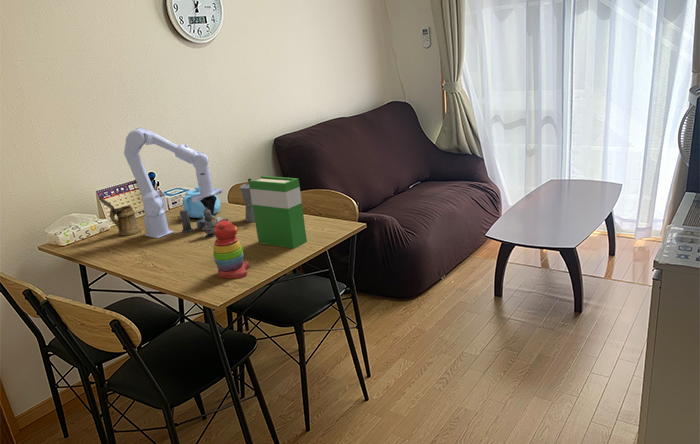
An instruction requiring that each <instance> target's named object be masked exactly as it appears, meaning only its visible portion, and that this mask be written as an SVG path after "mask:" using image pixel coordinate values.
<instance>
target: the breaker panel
mask: <svg viewBox="0 0 700 444" xmlns="http://www.w3.org/2000/svg"><path fill="white" fill-rule="evenodd" d="M203 217H204V216H203ZM212 217H213V223H214V225H216V224H217V223H218V222H220V221H221V220H222V219H223V220H224V221H229V218H227V217H226V218H225V217H222V216H215V215H212ZM203 227H205V220H204V219H199V220H198V221H196V228H197V229H198V230H203Z"/></svg>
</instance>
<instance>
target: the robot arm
mask: <svg viewBox="0 0 700 444" xmlns="http://www.w3.org/2000/svg"><path fill="white" fill-rule="evenodd" d="M144 145H146V146H149V145H156V146H157V147H160V148H163V149H165V150H167V151H170V152H172V153H174V156H175V157H176V158H178V159H179V160H182V161H184V162H186V163H188V164H191V165H193V167H194V168H195V175H196V176H195V177H196V182H197V186H199V192H200V194H198V195H196V196H194V197H192V202H197V201H200V202H201V203H202V204H203V205H204V207H205V208H206V207H207V209H209V210H210V211H211V215H212V214H213V215H215V214H214V206H215V202H216V199H217V198H216V197H215V196H214V195H217V196H218V195H219V194H223V189H222V188H220V187H219V188H215V190H214V189H213V188H214V184H213V181H212V180H213V179H212V174H211V170H210V165H209V156H208V155H207V154H205V153H204V152H200V151H199V150H195V149H193V148H191V147H189V145H188V144H187V143H186V144H183V143H181V144H177V143H174V142H172V141H170V140H168V139H167V138H165V137H163V136H161V135H159V134H157V133H155V132H153V131H151V130H148V129H146V128H145V127H137V128H135V129H133V130H131V131H130V132H128V134H127V136H126V137H125V145H124V151H123V155H124V157H125V159H126V162H127V164H128V166H129V169H130V170H131V173H132V175H133V177H134V179H135V182H136V184H137V186H138V189H139V191H140V194H141V197H142V203H143V211H144V213H145V214H144V215H145V216H143V225H144V228H145V233H146V234H144V236H145V237H150V238H153V239H155V238H156V239H159V238H162V237H165V236H168V235H170V234H172V233H174V230H170V229H169V225H168V220H167V216H166V211H165V210H164V205H165V202H164V199H163V198H162V197H161V196H160V195H159V193H158V192H157V190H155V188H154V186H153V183H152V182H151V179H150V176H149V174H148V171H147V170H146V168H145V165H144V162H143V159H142V158H141V155H140V152H141V151H142V148H143V146H144ZM213 215H212V216H213Z"/></svg>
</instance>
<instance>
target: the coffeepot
mask: <svg viewBox="0 0 700 444" xmlns="http://www.w3.org/2000/svg"><path fill="white" fill-rule="evenodd" d="M250 180H252V178H248V179H247V182H248V183H244V184H242V185H239V189H240V191H241V196H242V198H243V201H244V204H245V221H246V223H255V218H254V212H253V206H252V200H251V194H250V187H249V181H250Z"/></svg>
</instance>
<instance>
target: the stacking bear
mask: <svg viewBox="0 0 700 444" xmlns="http://www.w3.org/2000/svg"><path fill="white" fill-rule="evenodd" d="M238 230H239V228H238V226H236V225H235V224H233V223H232V221H229V220H228V221H224V220H223V219H222V220H221V221H220V222H218V223H217V224H216V225H215V227H214V234H215V236H216V237H215V238H216V240H215V241H214V243H213V261H214V262H215V264H216V267H217V268H218V269H217V276H218V277H220V278H222V279H239V278H243V277H246V276H247V274H248V271H247V269H249V267H250V263H249V262H248V261H244V250H243V247H242V245H241V242H240V240H239V239H238V237H237V236H236V235H237V234H238Z"/></svg>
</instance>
